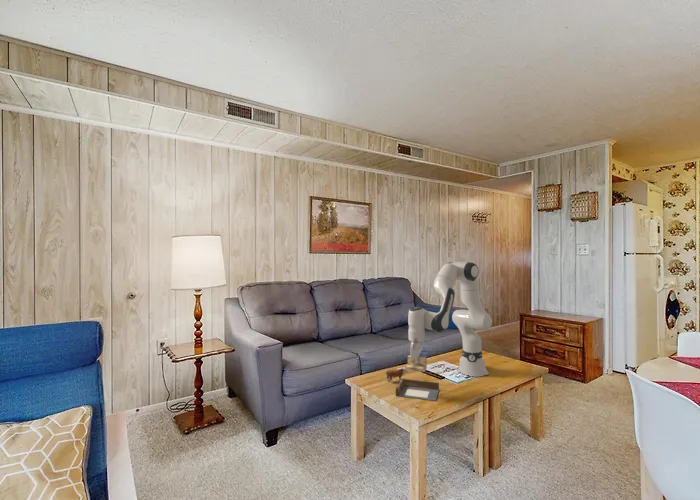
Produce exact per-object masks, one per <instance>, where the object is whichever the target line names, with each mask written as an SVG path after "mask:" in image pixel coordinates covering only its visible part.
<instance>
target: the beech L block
mask: <svg viewBox="0 0 700 500" xmlns="http://www.w3.org/2000/svg"><path fill="white" fill-rule="evenodd" d="M427 363H428V362H427V356H421V355H420V356H418V363H415V359H412V358H411V356H410V355H407V365H406V366H405V368H406V370H408V371H415V372H423V373H425V372H426V370H427V368H428V366H427Z"/></svg>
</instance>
